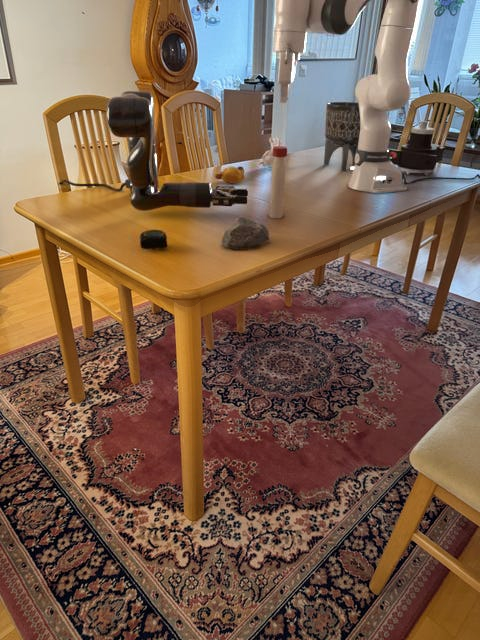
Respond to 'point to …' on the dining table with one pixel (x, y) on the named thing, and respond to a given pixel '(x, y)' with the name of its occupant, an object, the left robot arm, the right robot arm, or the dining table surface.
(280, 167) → the bottle
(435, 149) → the mechanical component
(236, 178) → the toy
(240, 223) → the rock
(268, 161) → the figurine
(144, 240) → the tape measure
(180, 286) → the dining table surface
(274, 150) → the cap
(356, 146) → the planter
